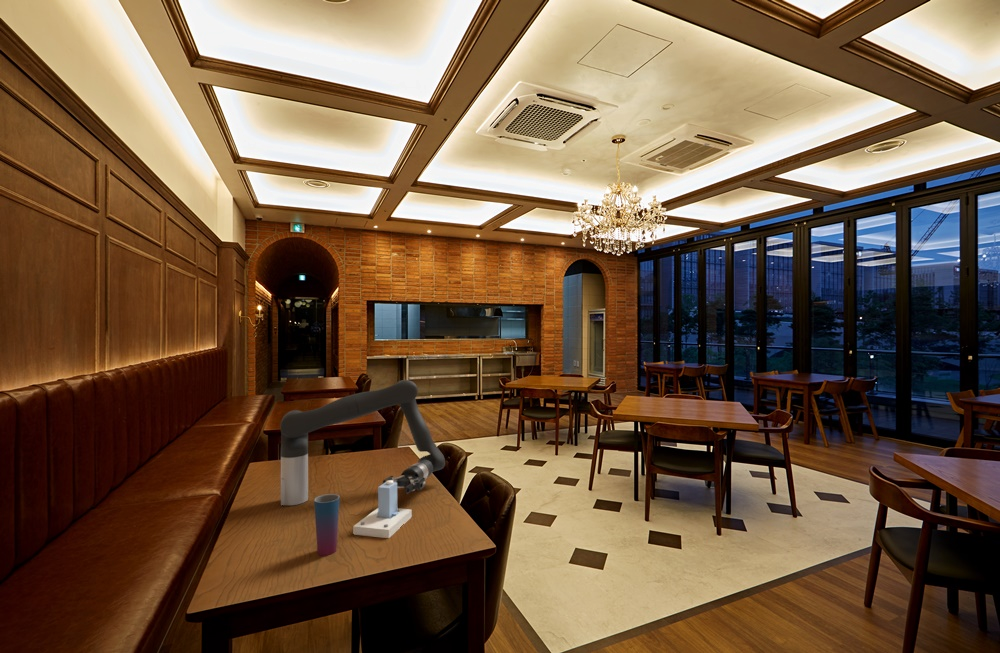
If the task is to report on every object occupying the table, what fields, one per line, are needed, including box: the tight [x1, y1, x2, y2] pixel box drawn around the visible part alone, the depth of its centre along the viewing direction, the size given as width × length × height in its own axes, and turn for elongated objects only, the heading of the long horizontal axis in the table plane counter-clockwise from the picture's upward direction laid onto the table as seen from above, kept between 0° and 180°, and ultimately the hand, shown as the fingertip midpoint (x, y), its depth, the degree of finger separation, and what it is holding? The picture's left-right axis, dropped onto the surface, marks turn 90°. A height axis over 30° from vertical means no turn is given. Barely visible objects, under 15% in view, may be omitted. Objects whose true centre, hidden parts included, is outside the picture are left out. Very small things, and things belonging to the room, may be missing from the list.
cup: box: [313, 493, 340, 556], centre depth 127 cm, size 7×7×15 cm
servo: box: [377, 480, 399, 519], centre depth 147 cm, size 6×7×13 cm
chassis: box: [352, 507, 413, 539], centre depth 144 cm, size 16×12×3 cm
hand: (394, 489), depth 152 cm, fingers open, 8 cm apart
